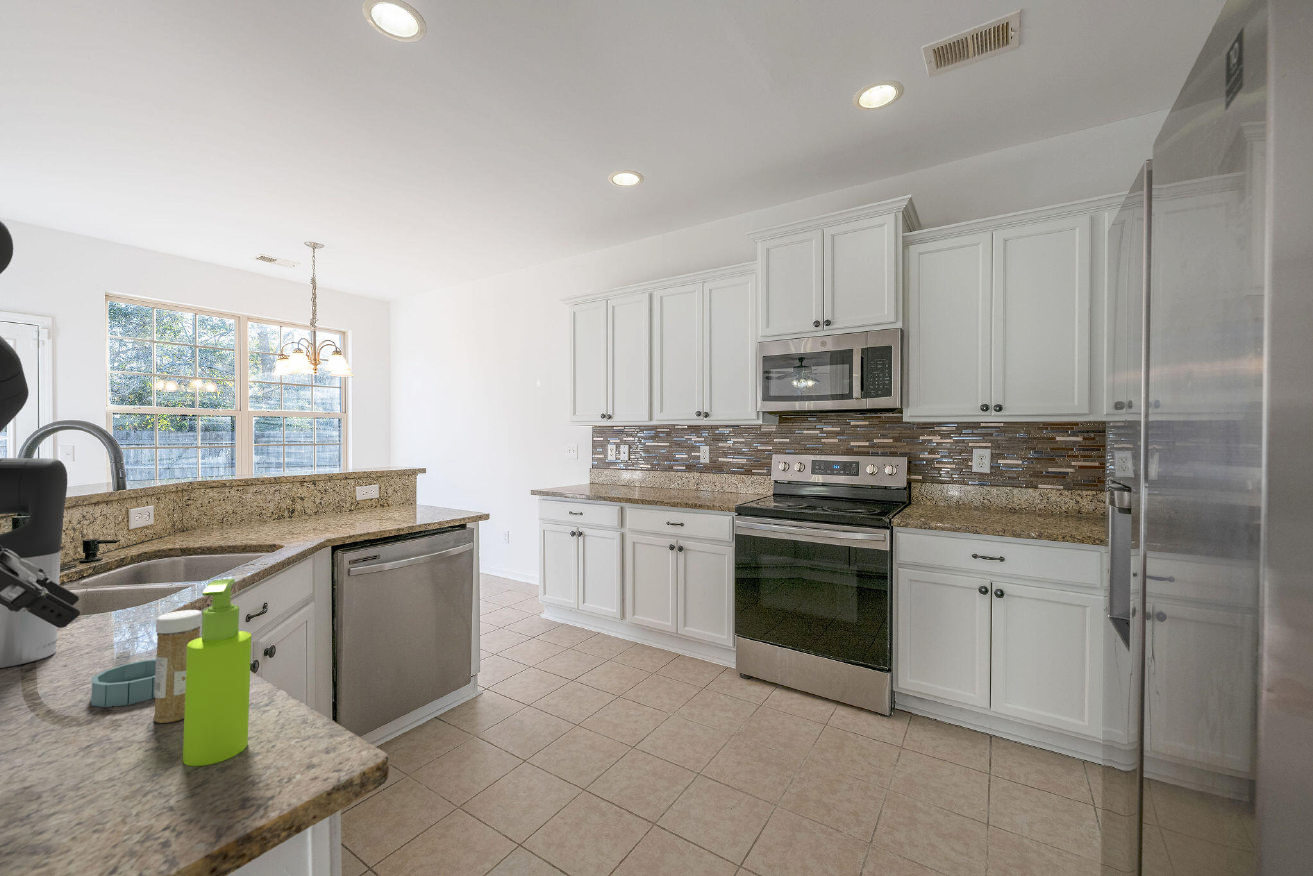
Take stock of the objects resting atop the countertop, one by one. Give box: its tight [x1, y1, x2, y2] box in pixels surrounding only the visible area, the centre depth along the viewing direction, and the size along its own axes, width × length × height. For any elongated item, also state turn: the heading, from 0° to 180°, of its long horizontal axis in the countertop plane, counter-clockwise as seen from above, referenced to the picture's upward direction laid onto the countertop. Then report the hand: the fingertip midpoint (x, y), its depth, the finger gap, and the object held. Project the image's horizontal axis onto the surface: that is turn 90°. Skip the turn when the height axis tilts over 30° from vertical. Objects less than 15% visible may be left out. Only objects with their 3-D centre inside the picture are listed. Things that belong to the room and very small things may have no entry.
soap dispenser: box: [182, 578, 252, 767], centre depth 63 cm, size 6×7×20 cm
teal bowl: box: [90, 658, 156, 708], centre depth 78 cm, size 9×9×3 cm
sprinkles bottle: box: [152, 609, 203, 724], centre depth 71 cm, size 5×5×13 cm
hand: (72, 612), depth 64 cm, fingers open, 8 cm apart
